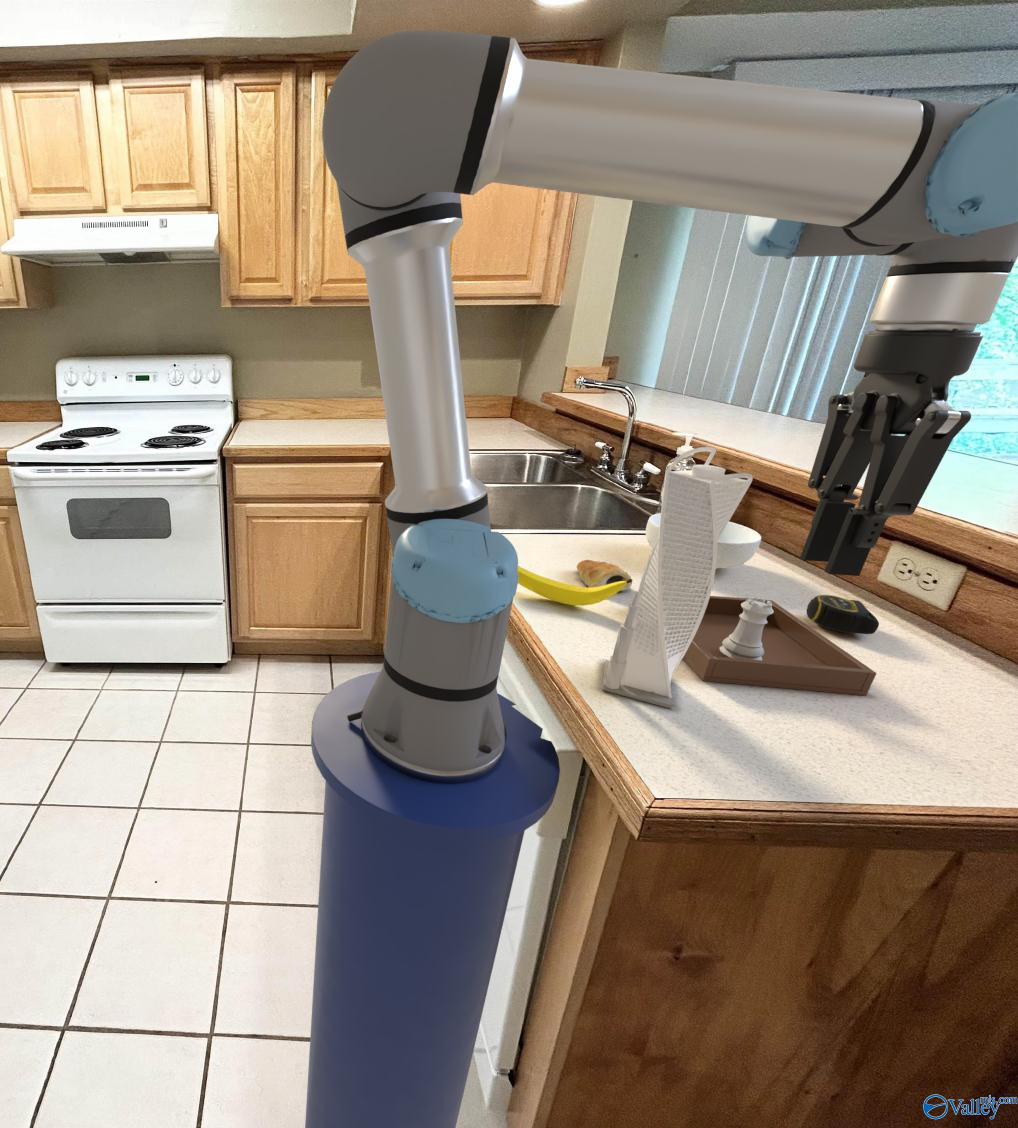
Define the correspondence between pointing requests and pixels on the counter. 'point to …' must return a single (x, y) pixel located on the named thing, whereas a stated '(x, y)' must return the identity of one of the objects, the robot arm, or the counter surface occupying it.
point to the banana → (567, 589)
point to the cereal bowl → (720, 542)
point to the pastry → (601, 574)
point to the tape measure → (841, 615)
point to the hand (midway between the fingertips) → (828, 566)
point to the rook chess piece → (748, 631)
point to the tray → (774, 653)
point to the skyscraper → (674, 581)
